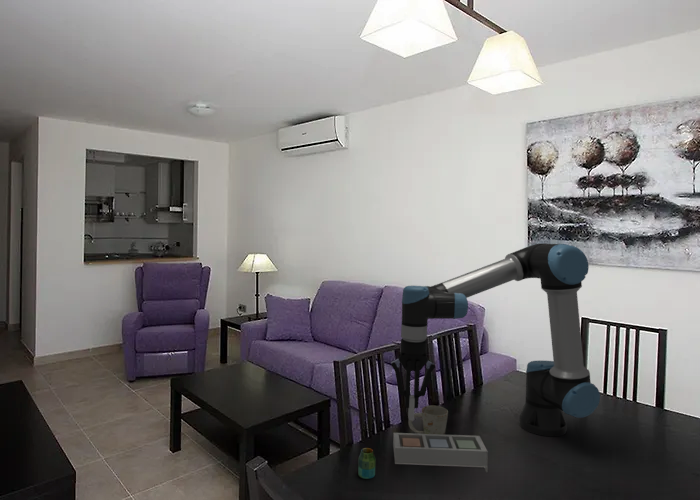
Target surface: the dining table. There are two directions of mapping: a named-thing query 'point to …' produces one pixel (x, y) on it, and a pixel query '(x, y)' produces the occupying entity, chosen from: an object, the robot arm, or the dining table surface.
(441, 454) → the three-slot tray
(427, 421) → the mug
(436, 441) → the key
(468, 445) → the key
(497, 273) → the robot arm
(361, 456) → the jar
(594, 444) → the dining table surface
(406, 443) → the key
